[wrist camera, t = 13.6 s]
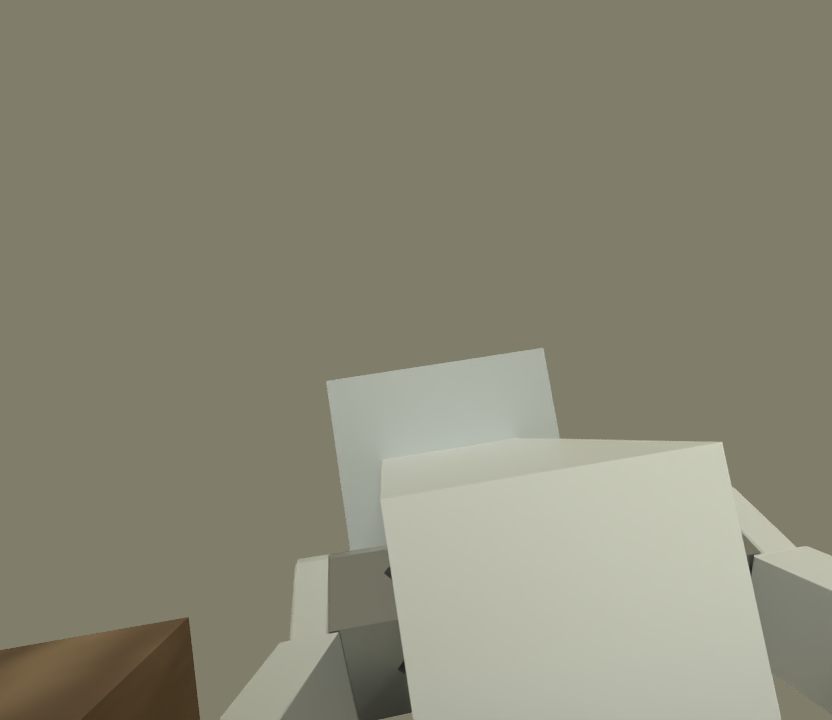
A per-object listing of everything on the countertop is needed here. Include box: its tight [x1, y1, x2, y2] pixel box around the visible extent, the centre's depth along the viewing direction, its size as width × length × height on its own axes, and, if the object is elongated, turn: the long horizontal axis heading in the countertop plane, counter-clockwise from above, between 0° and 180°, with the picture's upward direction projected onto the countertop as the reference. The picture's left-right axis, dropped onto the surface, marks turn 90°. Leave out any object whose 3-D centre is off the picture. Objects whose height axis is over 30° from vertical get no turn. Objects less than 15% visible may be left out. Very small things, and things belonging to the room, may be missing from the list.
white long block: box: [326, 348, 781, 720], centre depth 15 cm, size 17×6×6 cm, turn 4°
